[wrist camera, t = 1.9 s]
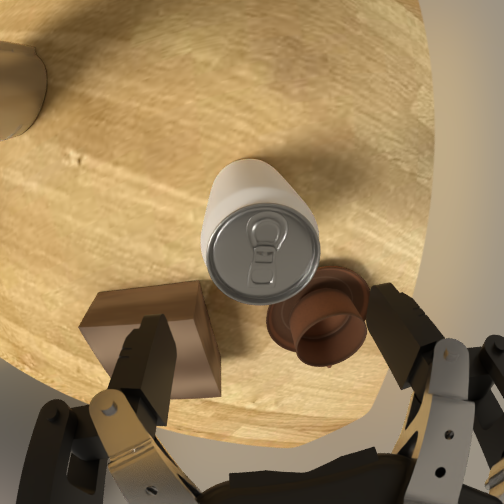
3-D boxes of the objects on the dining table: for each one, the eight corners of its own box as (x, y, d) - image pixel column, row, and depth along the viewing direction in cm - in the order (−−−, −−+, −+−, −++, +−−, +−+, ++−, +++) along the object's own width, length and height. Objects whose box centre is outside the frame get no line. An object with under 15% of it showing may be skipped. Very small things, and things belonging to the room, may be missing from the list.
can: (288, 160, 23) (340, 199, 12) (280, 229, 26) (315, 311, 15) (212, 155, 22) (196, 190, 12) (210, 226, 25) (198, 310, 14)
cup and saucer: (375, 311, 32) (395, 344, 27) (292, 355, 34) (301, 392, 29) (345, 238, 27) (371, 268, 22) (243, 294, 29) (247, 335, 24)
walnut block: (98, 292, 27) (78, 327, 22) (198, 280, 28) (193, 319, 22) (135, 363, 33) (126, 398, 28) (221, 358, 33) (221, 396, 28)
